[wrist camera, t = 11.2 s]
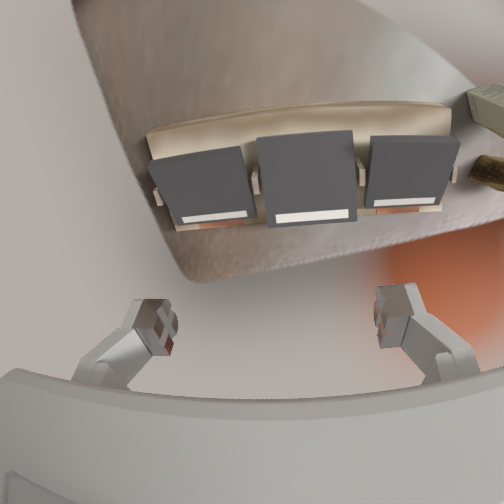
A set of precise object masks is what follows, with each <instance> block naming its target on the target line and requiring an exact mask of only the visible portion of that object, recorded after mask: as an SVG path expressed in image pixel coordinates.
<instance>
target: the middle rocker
mask: <svg viewBox="0 0 504 504" xmlns="http://www.w3.org/2000/svg"><path fill="white" fill-rule="evenodd" d="M256 142H257V149H258V156H259V164H260V171H261V178H262V186H263V193H264V201H265V208H266V216H267V224H268V228H275V227H287V226H300V225H313V224H326V223H340V222H354V221H357V194H356V172H355V155H354V141H353V131H352V130H338V131H321V132H307V133H296V134H285V135H275V136H266V137H257V138H256Z"/></svg>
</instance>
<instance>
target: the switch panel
mask: <svg viewBox="0 0 504 504" xmlns="http://www.w3.org/2000/svg"><path fill="white" fill-rule="evenodd" d="M451 112H452V109H450V108H449V107H447V106H445V105H443V104H441V103H430V102H407V101H353V102H329V103H313V104H300V105H289V106H279V107H270V108H261V109H254V110H246V111H239V112H232V113H226V114H220V115H214V116H208V117H202V118H197V119H192V120H187V121H182V122H177V123H172V124H168V125H163V126H159V127H155V128H153V129H152V130H151V131H150V132H148V133H147V134H146V137H147V141H148V144H149V147H150V151H151V154H152V157H153V160H156V159H161V158H166V157H171V156H177V155H182V154H188V153H194V152H200V151H206V150H213V149H219V148H226V147H234V146H240V147H241V151H242V155H243V158H244V162H245V166H246V170H247V174H248V178H249V182H250V185H251V189H252V193H253V197H254V201H255V205H256V209H257V218H252V219H241V220H231V221H220V222H210V223H201V224H191V225H182V226H178V224H177V223H176V221H175V219H174V217H173V215H172V214H171V212H170V214H171V217H172V220H173V223H174V226H175V229H176V231H184V230H194V229H204V228H214V227H225V226H236V225H247V224H258V223H267V216H266V208H265V201H264V193H263V186H262V178H261V171H260V164H259V156H258V149H257V142H256V138H257V137H266V136H275V135H285V134H296V133H307V132H321V131H338V130H352V131H353V141H354V155H355V172H356V194H357V216H362V215H378V214H394V213H412V212H431V211H441V209H442V203H443V196H444V194H443V196H442V199H441V202H440V204H439V205H432V206H410V207H392V208H374V209H365V207H364V203H363V199H364V192H365V183H366V175H367V166H368V156H369V145H370V136H381V135H427V136H450V131H451ZM457 171H458V167H457V166H456V165H455V164H454V166H453V169H452V171H451V174H450V177H449V181H450V182H451V183H456V178H457ZM153 193H154V196H155V199H156V202H157V205H158V206H162V205H163V204H164V202H165V201H164V199H163V197H162V195H161V194H160V192H159V190H158V188H157V186H156V188H155V189H154V191H153ZM169 211H170V210H169Z"/></svg>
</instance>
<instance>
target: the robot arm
mask: <svg viewBox="0 0 504 504" xmlns="http://www.w3.org/2000/svg"><path fill="white" fill-rule="evenodd" d="M376 297H377V300H376V301H375V302H374V321H375V326H376V327H378V328H379V329H378V334H377V336H378V340H379V345H380V349H381V348H392V347H401V348H402V350H403V351H404V352H405V353H406V354H407V355H408V356H409V357H410V358H411V359H412V361H413V362H414V363H415V364H416V365H417V366H418V367H419V368H420V370H421V371H422V372H423V373H424V374H425V375H426V376H425V378H424V380H423V382H422V384H421V385H420V386H414V387H408V388H402V389H395V390H388V391H380V392H372V393H364V394H354V395H344V396H333V397H319V398H318V397H317V398H298V399H217V398H197V397H183V396H171V395H161V394H151V393H143V392H135V391H131V390H130V389H129V388H128V387H127V386H126V385H127V384H128V383H129V382H130V381H131V380H132V379H133V378H134V376H135V375H136V374H137V373H138V372H139V371H140V370H141V369H142V368H143V366H144V365H145V364H146V363H147V362H148V361H149V360H150V358H151V357H152V356H170V354H171V351H172V348H173V344H174V343H173V341H172V338H173V337H174V336H175V335H176V333H177V330H178V320H177V316H176V314H175V312H173V311H172V310H170V308H171V303H170V302H169V300H167V299H135V300H133V302H132V303H131V306H130V308H129V310H128V312H127V314H126V317H125V319H124V321H123V323H122V326H121V328H117V329H116V330H115V331H113V332H112V333H111V334H110V335H109V336H107V337H106V338H105V339H104V340H103V341H101V342H100V343H99V344H98V345H97V346H96V347H94V348H93V349H92V350H91V351H89V352H88V353H87V354H86V355H85V356H83V357H82V358H81V359H80V361H79V364H78V366H77V368H76V371H75V373H74V375H73V377H72V380H71V381H69V380H64V379H60V378H55V377H51V376H46V375H42V374H39V373H35V372H30V371H27V370H23V369H19V368H16V369H13V370H11V371H9V372H8V373H6V374H5V375H4V376H3V377H1V378H0V504H504V366H502V367H499V368H495V369H491V370H488V371H484V372H480V369H479V366H478V363H477V360H476V357H475V354H474V352H473V349H472V346H470V345H469V344H468V343H467V342H466V341H464V340H463V339H462V338H461V337H460V336H458V335H457V334H456V333H455V332H453V331H452V330H451V329H450V328H448V327H447V326H446V325H445V324H443V323H442V322H441V321H440V320H438V319H437V318H436V317H435V316H433V315H432V314H427V312H426V309H425V306H424V304H423V301H422V299H421V296H420V293H419V291H418V288H417V286H416V284H415V283H414V282H413V283H404V284H396V285H387V286H378V287H377V289H376Z"/></svg>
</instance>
